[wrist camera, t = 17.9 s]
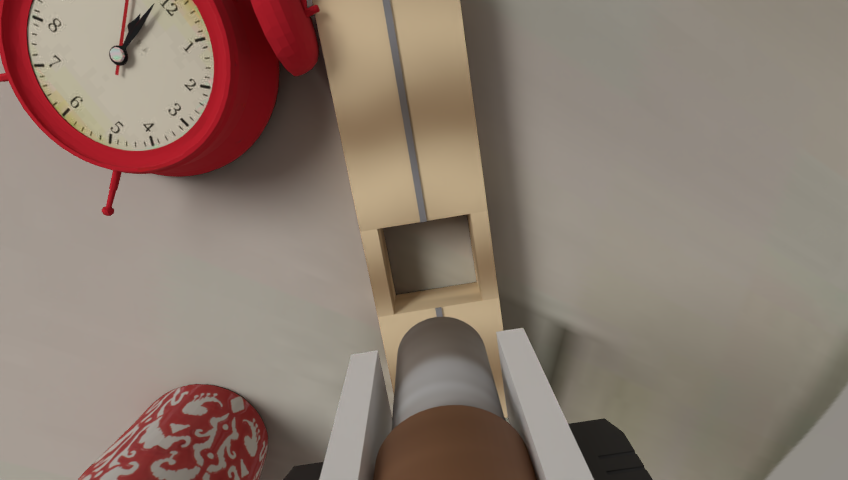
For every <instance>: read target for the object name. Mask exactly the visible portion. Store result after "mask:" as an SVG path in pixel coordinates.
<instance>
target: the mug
mask: <svg viewBox="0 0 848 480" xmlns="http://www.w3.org/2000/svg"><path fill="white" fill-rule="evenodd" d="M267 449H268V435H267V431H266V428H265V425H264V423H263V421H262V419H261V417H260V415H259V414H258V412H257V411H256V410H255V409H254V408H253V406H251V405H250V404H249V403H248V402H247V401H246V400H245V399H244V398H242V397H241V396H239V395H238V394H236V393H234V392H232V391H230V390H227V389H224V388H221V387H217V386H213V385H201V384H195V385H188V386H183V387H180V388H177V389H174V390H171V391H170V392H168V393H166V394H164V395H163V396H162V397H160V398H159V399H158V400H156V401H155V402H154V403H153V404H152V405H151V406H150V407H149V408H148V409H147V410H146V411H145V412H144V413H143V414H142V415H141V416H140V417H139V418H138V419H137V421H136V422H135V423H134V424H133V425H132V426H131V427H130V428H129V429H128V430H127V431H126V432H125V433H124V434H123V435H122V436H121V437H120V438H119V439H118V440H117V441H116V442H115V443H114V444H113V445H112V446H111V447H110V448H109V449H108V450H107V451H106V452H105V453H104V454H103V455H102V456H101V457H100V458H99V459H98V460H97V461H96V462H95V463H94V464H92V465H91V466H90V467H89V468H88V469H87V470H86V471H85V472H84V473H83V474H82V475H81V477H80V478H79V479H78V480H259V478H260V474H261V471H262V468H263V465H264V462H265V459H266V455H267Z"/></svg>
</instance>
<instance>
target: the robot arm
mask: <svg viewBox="0 0 848 480" xmlns="http://www.w3.org/2000/svg"><path fill="white" fill-rule="evenodd" d="M496 335H497V342H498V349H499V357H500V364H501V371H502V379H503V386H504V393H505V401H506V408H507V415H508V419H509V422H510V425H511V426H512V427H513V428H514V429H515V430H516V431H517V432H518V433H519V435H520V436H521V437H522V439H523V441H524V442H525V444H526V447H527V450H528V453H529V456H530V459H531V462H532V465H533V468H534V472H535V475H536V478H537V480H652V478H651V476H650V475H649V473H648V472H647V470H645V468H644V465H643V463H642V462H641V460H640V459H639V457H638V455H637V454H635V451H634V449H633V447H632V446H631V444H630V442H629V441H628V439H627V438H626V436H625V434H624V433H623V432H622V431H621V430H619V429H618V428H617V427H615V426H614V425H612V424H611V423H610V422H608V421H607V420H606V419H598V420H591V421H585V422H578V423H571V424H568V423H567V421H566V419H565V416H564V414H563V412H562V410H561V408H560V406H559V403H558V401H557V399H556V397H555V395H554V393H553V391H552V388H551V386H550V384H549V382H548V380H547V378H546V376H545V373H544V371H543V369H542V367H541V365H540V363H539V361H538V358H537V356H536V354H535V352H534V350H533V348H532V345H531V343H530V341H529V339H528V337H527V335H526V333H525V330H524V328H518V329H512V330H505V331H499V332H496ZM391 429H392V415H391V410H390V406H389V401H388V396H387V391H386V387H385V382H384V377H383V372H382V368H381V363H380V358H379V354H378V350H377V351H370V352H364V353H357V354H351V357H350V361H349V365H348V369H347V373H346V377H345V381H344V385H343V389H342V393H341V397H340V400H339V404H338V408H337V412H336V416H335V420H334V424H333V428H332V432H331V436H330V440H329V444H328V448H327V451H326V455H325V459H324V462H321V463H314V464H307V465H300V466H294V467H293V468H292V470H291V471H290V472H289V473H288V475H287V476H286V477H285V478H284V480H373V478H374V469H375V462H376V458H377V454H378V451H379V449H380V447H381V445H382V443H383V442H384V440H385V439H386V437H387V436H388V435H389V433H390V432H391Z"/></svg>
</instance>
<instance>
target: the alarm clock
mask: <svg viewBox="0 0 848 480" xmlns="http://www.w3.org/2000/svg"><path fill="white" fill-rule="evenodd" d="M318 12H320V9H319V6H318V5H314V6H311V7H309V8H307V0H0V55H1V59H2V64H3V66H4V69H5V72H6V73H3V74H0V82H1V81H3V82H5V81H9V83H10V85H11V87H12V89H13V91H14V93H15V95H16V97H17V98H18V100H19V102H20V103H21V105H22V107H23V108H24V110H25V111H26V112H27V113H28V115H29V116H30V117H31V119H32V120H33V121H34V122H35V123H36V125H37V126H38V127H39V128H40V129H41V130H42V131H43V132H44V133H45V134H46V135H47V136H48V137H49V138H50V139H52V140H53V141H54V142H56V143H57V144H58V145H59V146H61V147H62V148H63V149H65V150H67V151H68V152H70V153H71V154H73V155H75V156H77V157H78V158H80V159H82V160H84V161H87V162H89V163H92V164H94V165H97V166H100V167H103V168H107V169H111V170H113V174H112V178H111V183H110V187H109V189H110V190H109V195H108V200H107V205H106V207H103V209H102V212H103V214H104V215H107V216H111V215H112V214H113V213H114V209H113V208H112V204H113V200H114V196H115V193H116V190H117V188H118V184H119V180H120V176H121V172H124V173H134V174H148V173H153V174H157V175H164V176H193V175H198V174H203V173H207V172H210V171H213V170H215V169H218V168H221V167H223V166H225V165H227V164H229V163H231V162H232V161H234V160H235V159H237V158H238V157H240V156H241V155H242V154H243V153H245V152H246V151H247V150H248V149H249V148H250V147H251V146H252V145H253V144H254V142H255V141H256V140H257V139H258V138H259V136H260V135H261V133H262V132H263V130H264V128H265V126H266V125H267V123H268V121H269V119H270V116H271V114H272V111H273V108H274V105H275V102H276V97H277V92H278V85H279V60H280V62H281V63H282V65H283V66H284V67H285V69H286V70H287V71H289V72H290V73H291V74H292V75H294V76H300V75H302V74H305V73H307V72H308V71H310V70H311V69H312V68H313V67H314V66H315V64H316V63H317V61H318V55H319V45H318V41H317V37H316V32H315V29H314V25H313V22H312V20H311V17H310V16H312V15H314V14H316V13H318Z"/></svg>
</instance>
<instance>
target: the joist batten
mask: <svg viewBox="0 0 848 480" xmlns="http://www.w3.org/2000/svg"><path fill="white" fill-rule="evenodd" d="M312 3H313V6H314V5H318V6H319V9H320V12H318V13H316V14H315V17H316V22H317V27H318V32H319V36H320V41H321V46H322V51H323V56H324V60H325V65H326V70H327V75H328V80H329V84H330V89H331V94H332V99H333V104H334V109H335V113H336V118H337V123H338V128H339V133H340V137H341V142H342V147H343V152H344V157H345V161H346V166H347V171H348V176H349V181H350V185H351V190H352V195H353V200H354V205H355V209H356V214H357V219H358V224H359V229H360V233H361V238H362V243H363V248H364V253H365V257H366V262H367V267H368V272H369V277H370V282H371V286H372V291H373V296H374V301H375V306H376V310H377V315H378V320H379V325H380V330H381V334H382V339H383V344H384V349H385V354H386V358H387V363H388V368H389V373H390V378H391V382H392V387H393V392H394V390H395V377H396V364H397V353H398V348H399V344H400V342H401V340H402V338H403V337H404V335H405V334H406V333H407V332H408V330H409V329H411V328H412V327H413V326H414V325H416V324H417V323H419V322H421V321H423V320H426V319H429V318H433V317H452V318H456V319H459V320H461V321H464V322H465V323H467V324H469V325H470V326H471V327H473V328H474V329H475V330H476V331H477V332H478V334H479V335H480V337H481V338H482V340H483V343H484V345H485V349H486V352H487V356H488V359H489V363H490V367H491V370H492V374H493V377H494V381H495V385H496V388H497V392H498V396H499V399H500V403H501V406H502V410H503V414H504V417H505V418H507V417H508V415H507V408H506V401H505V393H504V386H503V379H502V371H501V364H500V357H499V349H498V342H497V335H496V332H499V331H503V324H502V316H501V309H500V301H499V294H498V286H497V278H496V271H495V263H494V255H493V248H492V240H491V233H490V225H489V217H488V210H487V202H486V194H485V187H484V179H483V172H482V164H481V156H480V149H479V141H478V133H477V126H476V118H475V111H474V103H473V95H472V88H471V80H470V73H469V65H468V57H467V50H466V42H465V34H464V27H463V19H462V12H461V4H460V0H312ZM466 214H467V218H468V225H469V232H470V239H471V246H472V253H473V260H474V267H475V274H476V281H477V282H474V283H468V284H461V285H455V286H449V287H442V288H436V289H430V290H424V291H417V292H411V293H405V294H399V295H396V293H395V288H394V283H393V278H392V272H391V267H390V262H389V257H388V252H387V247H386V241H385V236H384V231H383V228H386V227H393V226H399V225H405V224H411V223H417V222H426V221H429V220H435V219H441V218H448V217H454V216H460V215H466Z"/></svg>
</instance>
